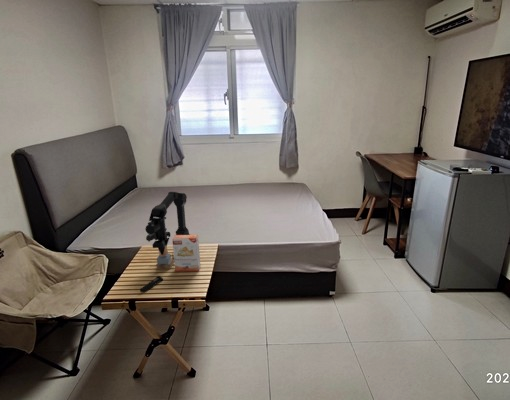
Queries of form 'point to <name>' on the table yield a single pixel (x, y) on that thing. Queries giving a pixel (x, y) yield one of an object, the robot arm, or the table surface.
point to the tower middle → (164, 259)
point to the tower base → (165, 265)
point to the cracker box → (186, 252)
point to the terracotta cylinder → (164, 252)
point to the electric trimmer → (151, 284)
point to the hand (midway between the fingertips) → (163, 252)
